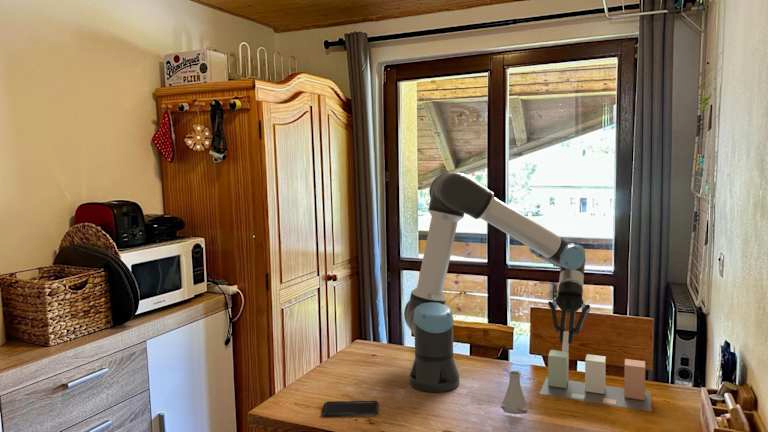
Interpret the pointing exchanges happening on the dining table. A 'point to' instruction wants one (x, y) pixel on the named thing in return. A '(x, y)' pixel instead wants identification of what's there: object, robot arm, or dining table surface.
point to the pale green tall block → (558, 368)
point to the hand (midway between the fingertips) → (564, 352)
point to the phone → (350, 409)
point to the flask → (514, 395)
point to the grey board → (597, 395)
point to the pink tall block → (634, 379)
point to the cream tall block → (595, 373)
